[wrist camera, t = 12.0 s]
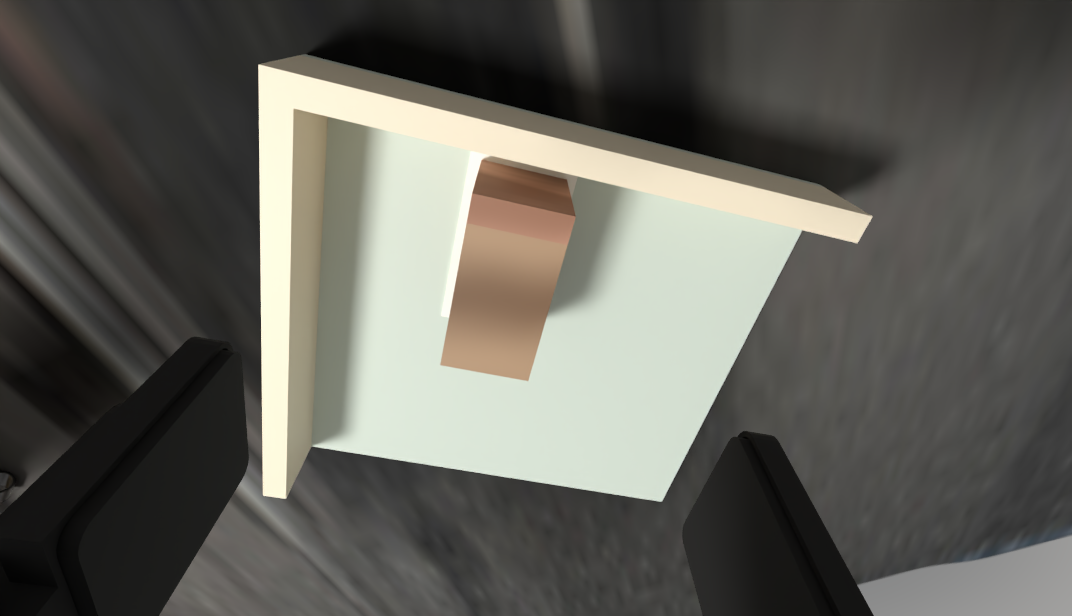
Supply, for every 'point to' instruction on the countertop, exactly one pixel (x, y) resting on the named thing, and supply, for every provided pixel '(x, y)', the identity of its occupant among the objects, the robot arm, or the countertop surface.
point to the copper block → (507, 270)
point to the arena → (431, 269)
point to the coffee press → (6, 485)
